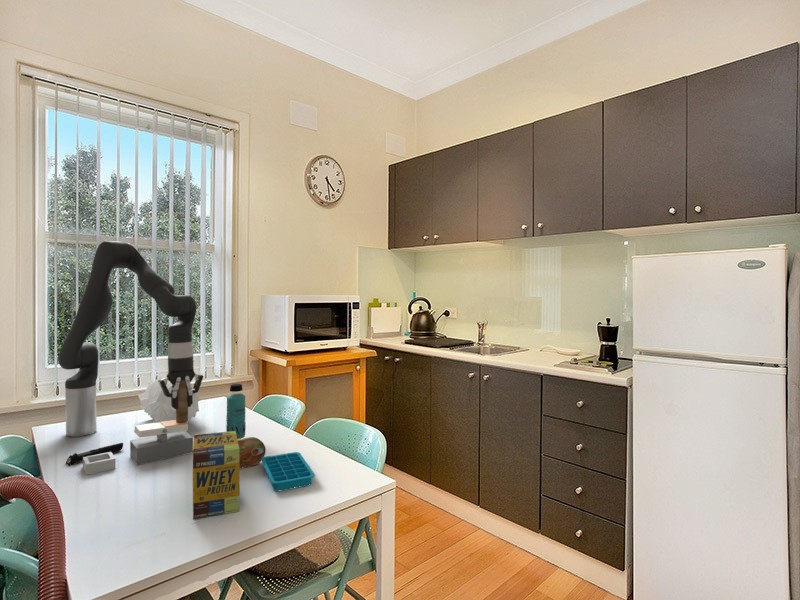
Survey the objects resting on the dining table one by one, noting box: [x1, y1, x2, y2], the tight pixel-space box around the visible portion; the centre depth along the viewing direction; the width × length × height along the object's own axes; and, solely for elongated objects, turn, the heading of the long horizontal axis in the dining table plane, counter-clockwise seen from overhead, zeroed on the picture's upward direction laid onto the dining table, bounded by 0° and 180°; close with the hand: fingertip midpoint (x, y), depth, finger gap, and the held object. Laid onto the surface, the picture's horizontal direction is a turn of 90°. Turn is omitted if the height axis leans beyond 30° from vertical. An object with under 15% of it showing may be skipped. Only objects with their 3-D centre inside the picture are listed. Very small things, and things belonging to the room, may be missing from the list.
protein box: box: [192, 431, 240, 520], centre depth 113 cm, size 10×15×16 cm
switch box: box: [129, 431, 194, 466], centre depth 145 cm, size 10×16×7 cm, turn 131°
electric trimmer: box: [65, 442, 124, 467], centre depth 142 cm, size 4×16×3 cm, turn 143°
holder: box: [82, 452, 116, 476], centre depth 134 cm, size 7×7×3 cm
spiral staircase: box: [137, 376, 201, 424], centre depth 178 cm, size 18×18×25 cm
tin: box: [237, 436, 266, 469], centre depth 135 cm, size 15×3×8 cm, turn 117°
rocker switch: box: [134, 420, 189, 438], centre depth 145 cm, size 8×14×2 cm, turn 131°
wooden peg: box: [176, 380, 189, 423], centre depth 148 cm, size 4×4×14 cm
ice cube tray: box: [261, 451, 316, 492], centre depth 129 cm, size 12×20×3 cm, turn 26°
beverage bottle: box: [225, 383, 247, 439], centre depth 157 cm, size 6×7×20 cm
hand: (182, 407), depth 148 cm, fingers closed on wooden peg, 3 cm apart
